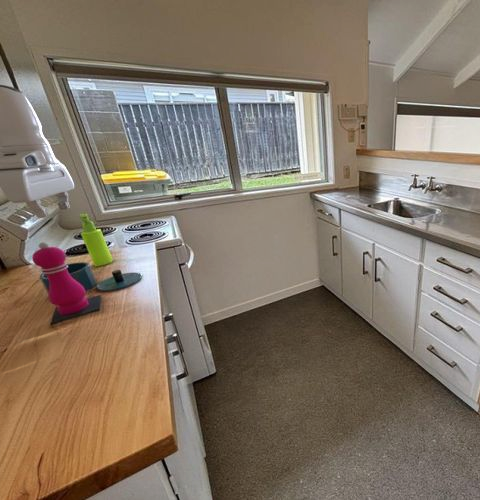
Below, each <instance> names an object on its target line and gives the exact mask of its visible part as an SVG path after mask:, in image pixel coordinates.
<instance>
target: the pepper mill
mask: <svg viewBox="0 0 480 500" xmlns="http://www.w3.org/2000/svg"><path fill="white" fill-rule="evenodd" d="M38 247H39V249H37V250H36V251H35V252H33V254H32V257H31V258H32V262H33V263H34V264H35V265H36V266H38V267H40V271H41V274H42V273H43V274H46V276H47V277H48V280H49V284H50V288H49V295H48V300H49V302H50V303H51V304H53V305H55V306H56V307H57V309H58V311H59V313H60V314H62V315H66V314H72V313H75V312H78V311H80V310H82V309H84V308H86V307H87V306H88V305H89V303H88V300H87V298H88V297H85V296H86V293H87V291H85V289H84V287H83V286H82V285H81V284H80V283H78V282H77V281H76V280H74V279H73V278H72V277H71V276H70V274H69V273H68V270H67V268H68V265H67V264H68V263H67V262H66V261H65V260H66V258H67V255H66V252H65V251H64V250H63V249H62V248H59V247H57V246H50V245H49V243H48V242H45V241H43V242H40V243H39V244H38Z"/></svg>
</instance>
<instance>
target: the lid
mask: <svg viewBox="0 0 480 500" xmlns="http://www.w3.org/2000/svg"><path fill="white" fill-rule="evenodd" d="M111 275H112V276H109V277H108V278H106V279H103V280H102V281H101V282H99V283H97V285H96V289H97V291H99V292H114V291H118V290H122V289H125V288H128V287H132V286H133V285H135V284H137V283H138V282H140V281H141V280H142V278H143V276H142V274H141V273H140V272H126V273H122V270H121V269H116V270H113V271H111Z"/></svg>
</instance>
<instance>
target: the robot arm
mask: <svg viewBox="0 0 480 500" xmlns="http://www.w3.org/2000/svg"><path fill="white" fill-rule="evenodd" d="M42 128H43V127H42V124H41V121H40V120H39V118H38V116H37V113H36V111H35V110H34V108H33V105H32V104H31V102H30V101H29V99H28V98H27V96H26V94H24V92H22V91H21V90H19V89H18V88H15V87H13V86H9V85H4V84H0V191H1V192H2V194H3V195H4V197H5V198H6V199H7V200H8V201H9V202H11V203H12V204H22V203H25V205H26V206H27V207H28V208H29V209H31V211H33V212H34V214H35V216H36V218H38V219H45V218H47V217H49V216H50V213H49V211H48V209H45V208H44V207H43V206H42V205H41V204H42V201H41V199H44V198H47V197H52V196H56V197H57V200H58V203H57V206H58V209H60V210H68V209H70V208H71V205H70V203H69V193H68V191H71V190H74V189H75V183H74V181H73V178H72V177H71V175H70V173H69V171H68V170H67V168H66V166H65V165H64V164H63V163H61V162H60V161H59V159H57V158H56V156H55V154H54V152H53V150H52V146H51V145H50V143H49V141H48V140H47V139H46V138H45V136H44V134H43V131H42V130H43V129H42Z"/></svg>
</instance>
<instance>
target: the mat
mask: <svg viewBox="0 0 480 500" xmlns="http://www.w3.org/2000/svg"><path fill="white" fill-rule="evenodd" d="M86 298H87V300H88V303H89V305H88V306H87V307H86V308H84V309H82V310H80V311H78V312H75V313H72V314H66V315H62V314H60V313H59V311H58V309H57V307H58V306H56V307H55V308H54V311H53V314H52V317H51V320H50V322H49V324H50V326H52V325H55V324H59V323H62V322H67V321H68V320H72V319H76V318H79V317H82V316H85V315H88V314H92V313H95V312H99V311H101V299H102V295H101V294H98V295H94V296H91V297H86Z"/></svg>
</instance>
